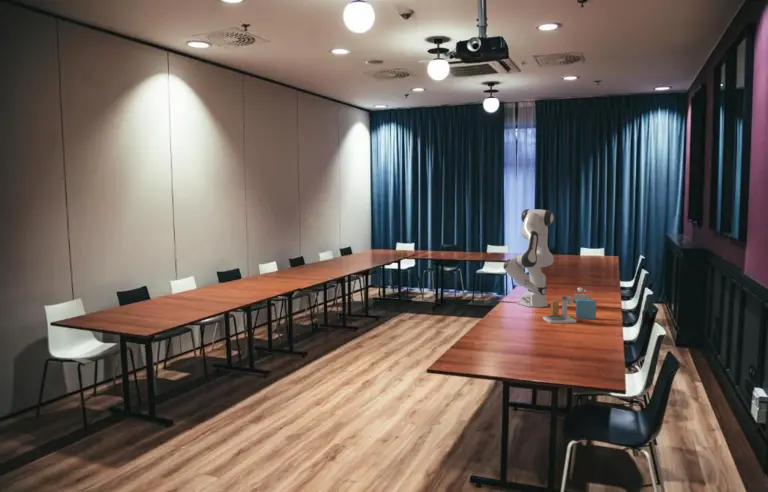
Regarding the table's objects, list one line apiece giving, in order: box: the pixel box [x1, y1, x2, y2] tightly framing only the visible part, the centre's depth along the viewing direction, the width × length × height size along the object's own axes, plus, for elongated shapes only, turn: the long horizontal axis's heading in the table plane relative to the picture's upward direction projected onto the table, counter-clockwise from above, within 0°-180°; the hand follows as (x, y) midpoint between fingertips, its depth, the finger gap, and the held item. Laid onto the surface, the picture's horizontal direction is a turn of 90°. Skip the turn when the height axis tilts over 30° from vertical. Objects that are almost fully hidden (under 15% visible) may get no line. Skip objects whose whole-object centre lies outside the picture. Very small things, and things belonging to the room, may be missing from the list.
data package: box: [575, 299, 597, 320], centre depth 362 cm, size 12×4×12 cm, turn 73°
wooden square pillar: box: [550, 299, 560, 315], centre depth 371 cm, size 4×4×10 cm
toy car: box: [572, 287, 591, 304], centre depth 417 cm, size 18×10×12 cm
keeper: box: [542, 295, 577, 324], centre depth 355 cm, size 17×13×16 cm
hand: (537, 293), depth 370 cm, fingers open, 8 cm apart
